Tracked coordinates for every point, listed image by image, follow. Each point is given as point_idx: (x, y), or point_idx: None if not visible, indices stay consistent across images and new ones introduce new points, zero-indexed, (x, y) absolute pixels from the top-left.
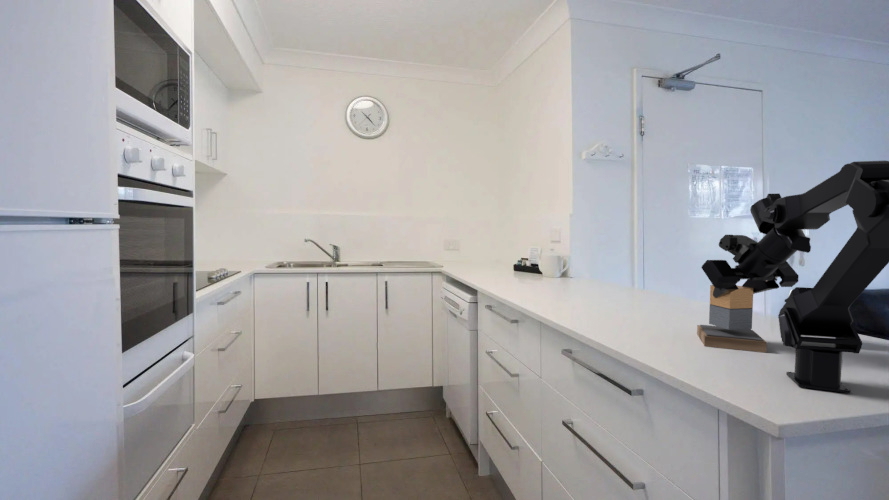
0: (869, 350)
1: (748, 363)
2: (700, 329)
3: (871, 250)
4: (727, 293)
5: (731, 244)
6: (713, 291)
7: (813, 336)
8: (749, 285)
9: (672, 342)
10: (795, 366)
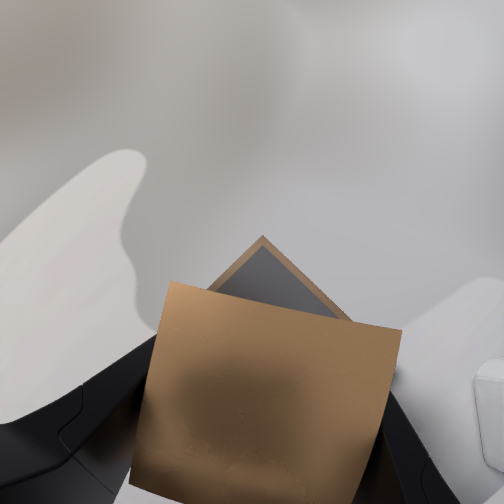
0: (499, 478)
1: (122, 487)
2: (207, 289)
3: None
4: (132, 455)
5: None
6: (146, 341)
7: (487, 430)
8: (370, 498)
9: (98, 288)
10: None
